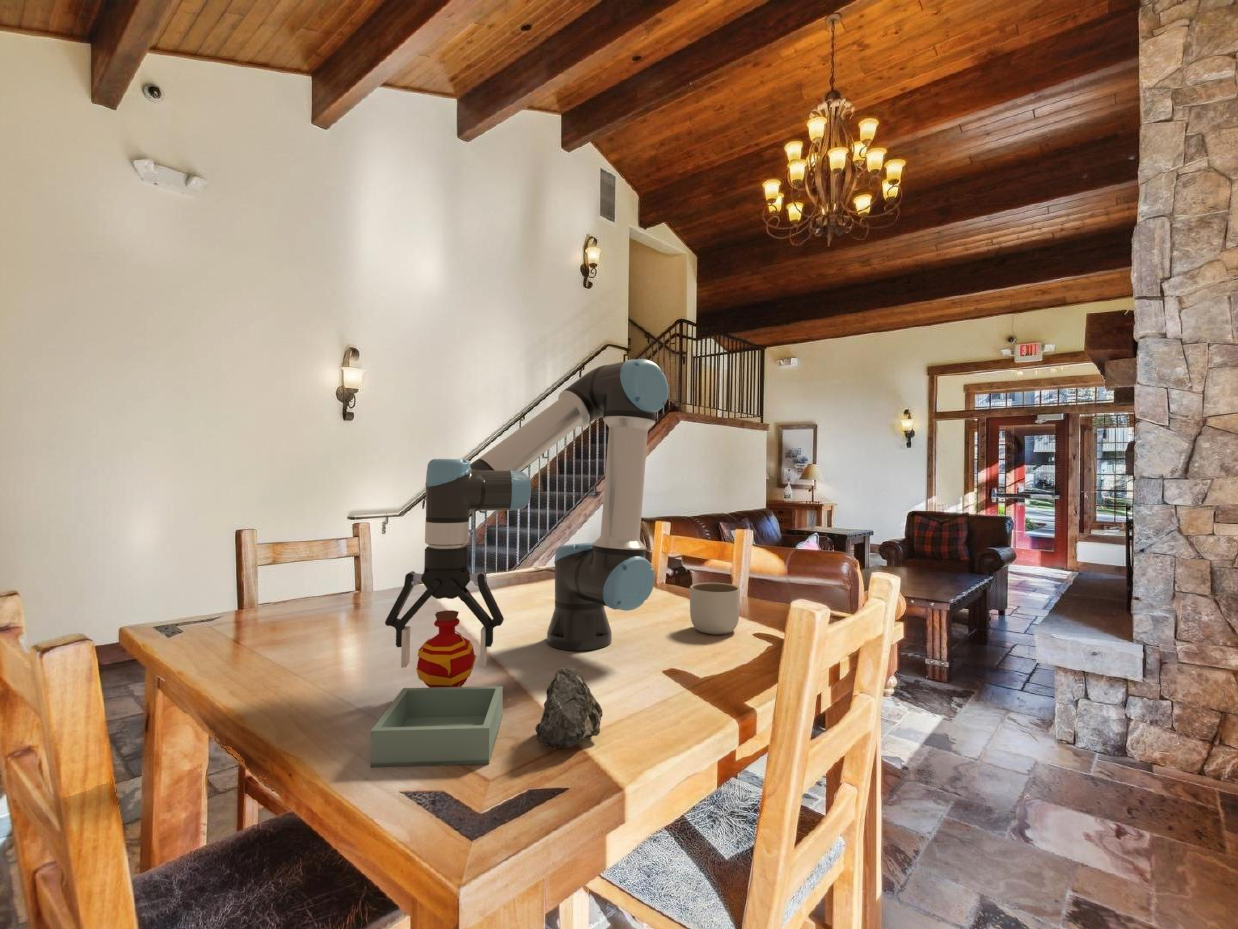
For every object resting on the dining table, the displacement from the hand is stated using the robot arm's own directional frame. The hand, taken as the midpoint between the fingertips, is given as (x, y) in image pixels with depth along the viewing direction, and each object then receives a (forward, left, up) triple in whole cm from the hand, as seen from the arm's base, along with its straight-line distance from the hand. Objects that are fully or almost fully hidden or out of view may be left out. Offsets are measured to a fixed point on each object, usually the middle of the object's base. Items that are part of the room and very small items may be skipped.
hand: (444, 665), depth 109 cm
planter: (-58, -41, -6) cm, 72 cm away
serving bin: (-3, +17, -6) cm, 18 cm away
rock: (-22, +19, -6) cm, 30 cm away
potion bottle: (0, 0, -6) cm, 6 cm away
